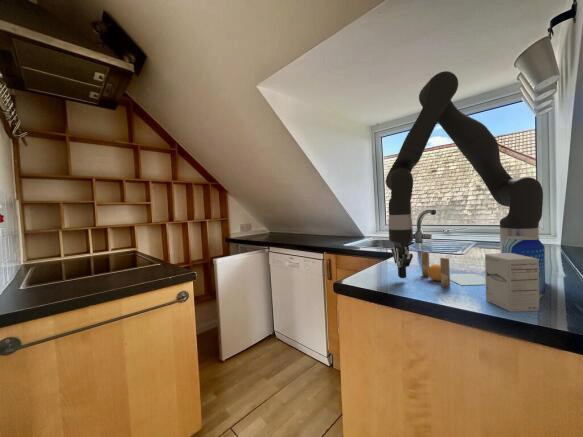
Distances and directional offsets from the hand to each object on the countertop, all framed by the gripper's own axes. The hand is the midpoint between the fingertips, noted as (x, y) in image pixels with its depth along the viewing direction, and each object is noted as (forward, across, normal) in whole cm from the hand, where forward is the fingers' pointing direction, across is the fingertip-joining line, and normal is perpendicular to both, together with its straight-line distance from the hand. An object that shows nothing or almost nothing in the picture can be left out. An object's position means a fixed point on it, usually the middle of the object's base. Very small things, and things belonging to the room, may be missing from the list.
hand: (402, 277), depth 83 cm
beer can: (+2, -15, -27) cm, 31 cm away
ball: (-1, 0, -12) cm, 12 cm away
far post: (+2, +6, -11) cm, 13 cm away
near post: (+2, -6, -11) cm, 13 cm away
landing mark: (+2, 0, -22) cm, 22 cm away
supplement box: (+2, -22, -18) cm, 28 cm away
